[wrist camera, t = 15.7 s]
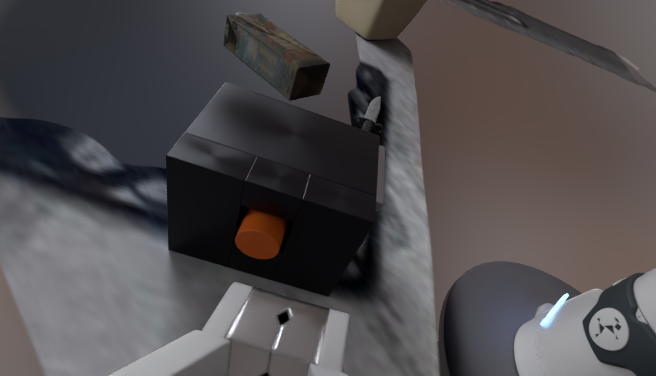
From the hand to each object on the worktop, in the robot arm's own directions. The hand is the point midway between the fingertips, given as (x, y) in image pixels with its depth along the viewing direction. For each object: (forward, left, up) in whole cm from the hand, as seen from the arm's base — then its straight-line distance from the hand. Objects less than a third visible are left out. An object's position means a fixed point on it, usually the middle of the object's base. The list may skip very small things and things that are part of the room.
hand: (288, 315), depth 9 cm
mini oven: (+2, -20, -22) cm, 30 cm away
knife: (-8, -48, -22) cm, 54 cm away
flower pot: (-5, -95, -22) cm, 97 cm away
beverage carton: (+11, -54, -22) cm, 60 cm away
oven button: (+2, -14, -17) cm, 22 cm away
